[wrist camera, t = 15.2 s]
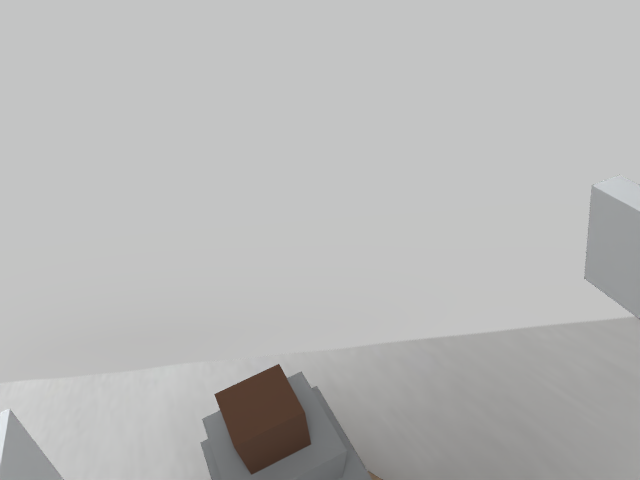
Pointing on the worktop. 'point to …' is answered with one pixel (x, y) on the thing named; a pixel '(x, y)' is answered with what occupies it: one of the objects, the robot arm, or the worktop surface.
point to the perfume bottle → (277, 433)
